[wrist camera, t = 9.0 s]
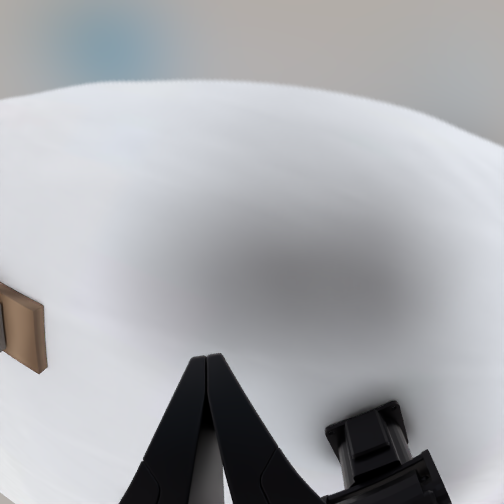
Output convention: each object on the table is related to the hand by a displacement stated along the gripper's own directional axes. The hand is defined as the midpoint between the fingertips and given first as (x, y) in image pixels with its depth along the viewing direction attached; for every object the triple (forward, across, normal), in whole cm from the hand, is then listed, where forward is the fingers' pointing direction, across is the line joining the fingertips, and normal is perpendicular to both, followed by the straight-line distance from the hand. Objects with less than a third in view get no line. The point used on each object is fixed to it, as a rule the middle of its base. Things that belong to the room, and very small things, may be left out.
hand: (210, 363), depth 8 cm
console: (+14, +23, +8) cm, 28 cm away
